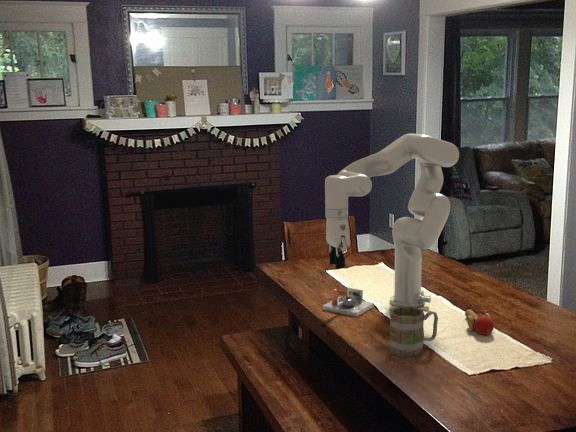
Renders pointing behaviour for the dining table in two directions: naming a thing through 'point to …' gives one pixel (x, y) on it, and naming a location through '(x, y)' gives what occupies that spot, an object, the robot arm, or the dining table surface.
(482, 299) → the dining table surface
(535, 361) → the dining table surface
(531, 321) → the dining table surface
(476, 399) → the dining table surface
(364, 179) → the robot arm
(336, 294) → the crank
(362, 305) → the stand
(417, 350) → the mug
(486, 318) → the kendama
